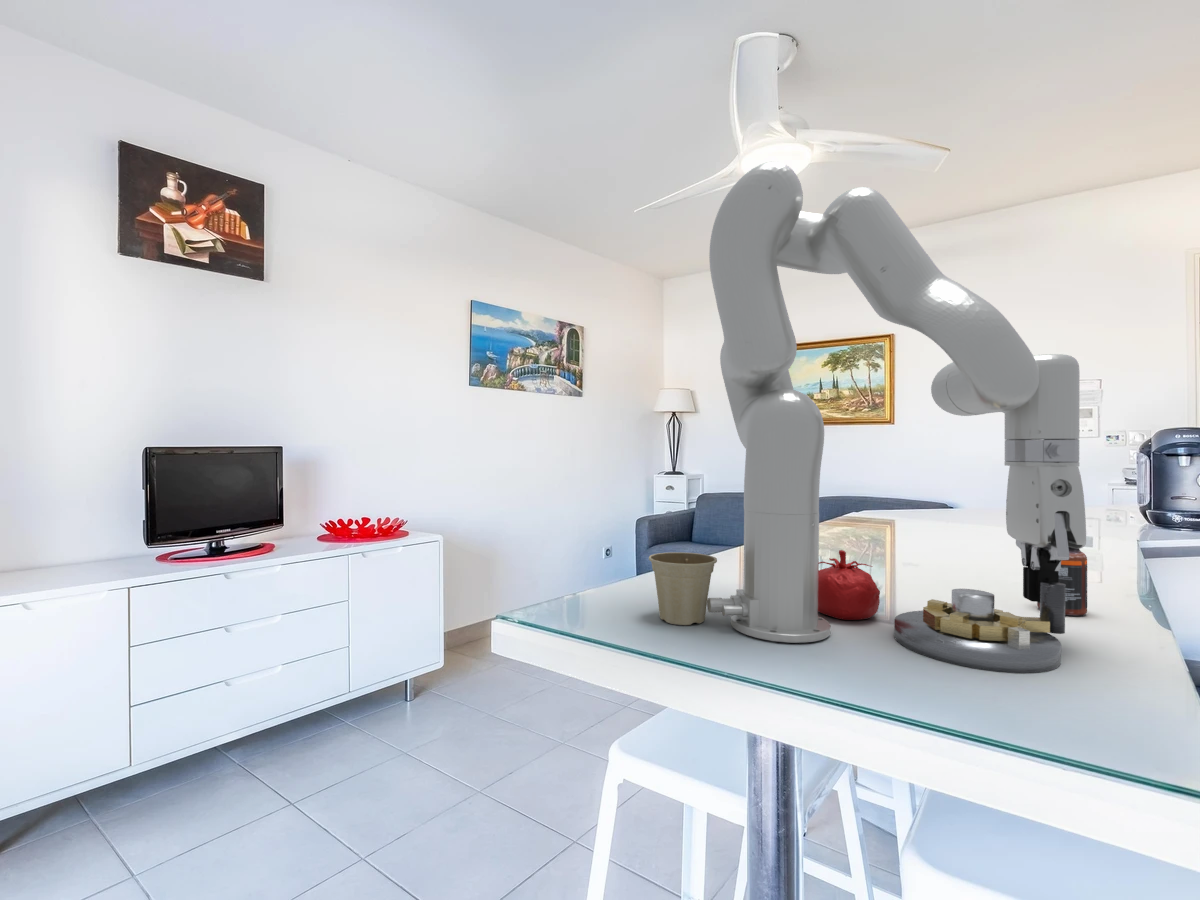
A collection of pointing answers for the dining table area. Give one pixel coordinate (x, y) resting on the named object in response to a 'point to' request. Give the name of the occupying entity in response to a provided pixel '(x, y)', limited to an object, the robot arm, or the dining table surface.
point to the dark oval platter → (1003, 656)
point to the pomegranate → (847, 591)
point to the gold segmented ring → (1001, 617)
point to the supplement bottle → (1074, 582)
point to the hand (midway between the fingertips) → (1040, 600)
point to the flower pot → (682, 585)
